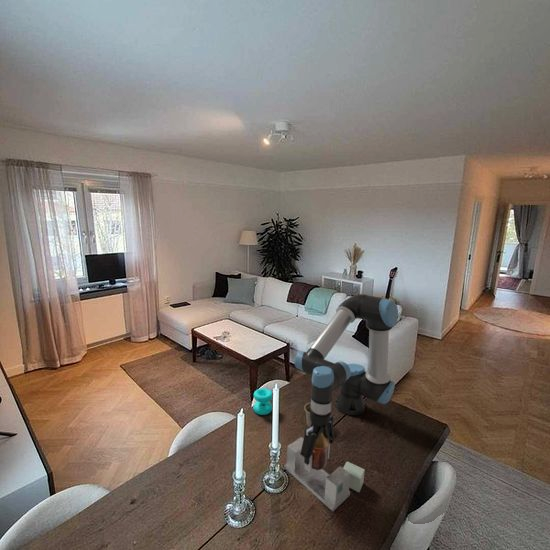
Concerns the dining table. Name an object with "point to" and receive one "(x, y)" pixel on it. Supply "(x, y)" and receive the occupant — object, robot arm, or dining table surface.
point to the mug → (320, 452)
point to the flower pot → (308, 413)
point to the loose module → (355, 476)
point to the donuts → (263, 401)
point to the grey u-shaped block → (318, 478)
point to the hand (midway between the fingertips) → (316, 463)
